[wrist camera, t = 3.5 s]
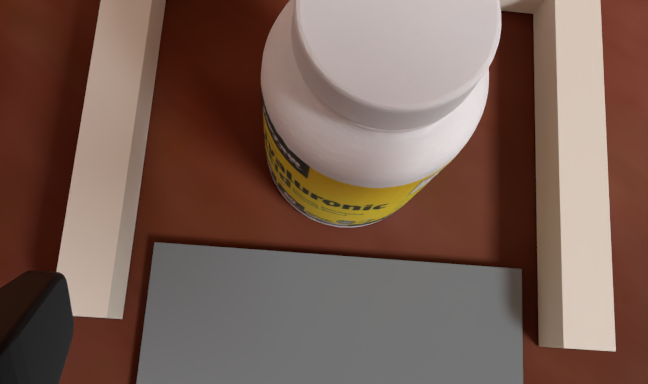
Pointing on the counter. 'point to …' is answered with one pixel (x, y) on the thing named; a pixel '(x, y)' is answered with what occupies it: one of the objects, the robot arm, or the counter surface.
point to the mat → (327, 320)
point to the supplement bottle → (371, 99)
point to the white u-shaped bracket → (550, 147)
